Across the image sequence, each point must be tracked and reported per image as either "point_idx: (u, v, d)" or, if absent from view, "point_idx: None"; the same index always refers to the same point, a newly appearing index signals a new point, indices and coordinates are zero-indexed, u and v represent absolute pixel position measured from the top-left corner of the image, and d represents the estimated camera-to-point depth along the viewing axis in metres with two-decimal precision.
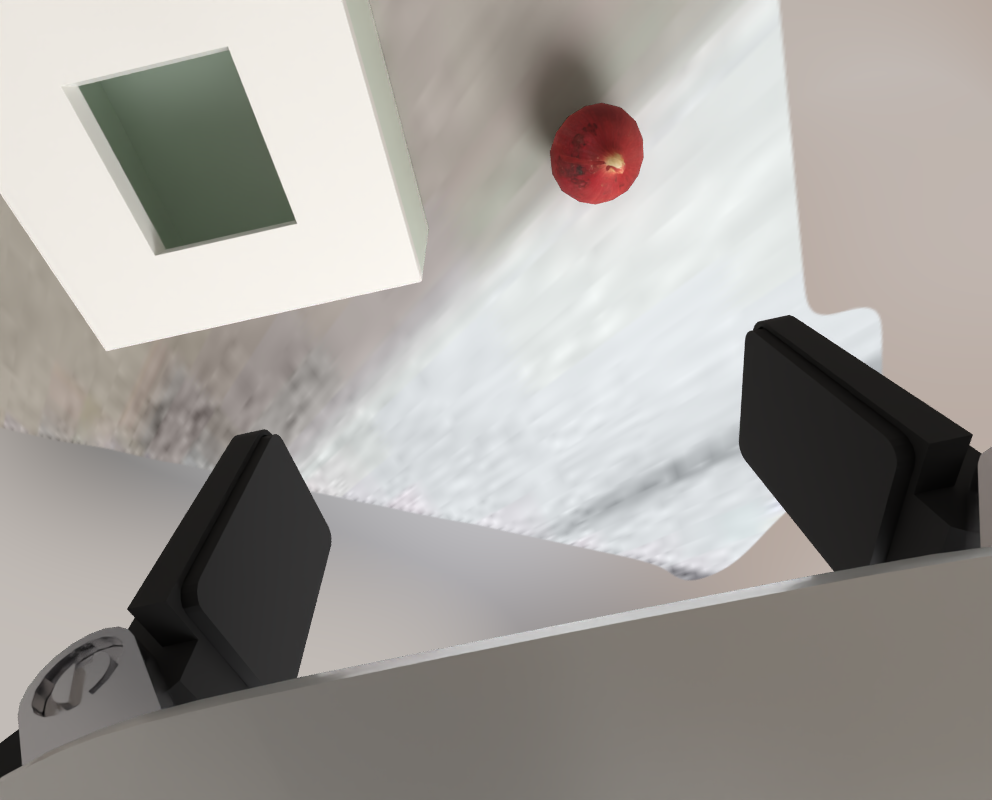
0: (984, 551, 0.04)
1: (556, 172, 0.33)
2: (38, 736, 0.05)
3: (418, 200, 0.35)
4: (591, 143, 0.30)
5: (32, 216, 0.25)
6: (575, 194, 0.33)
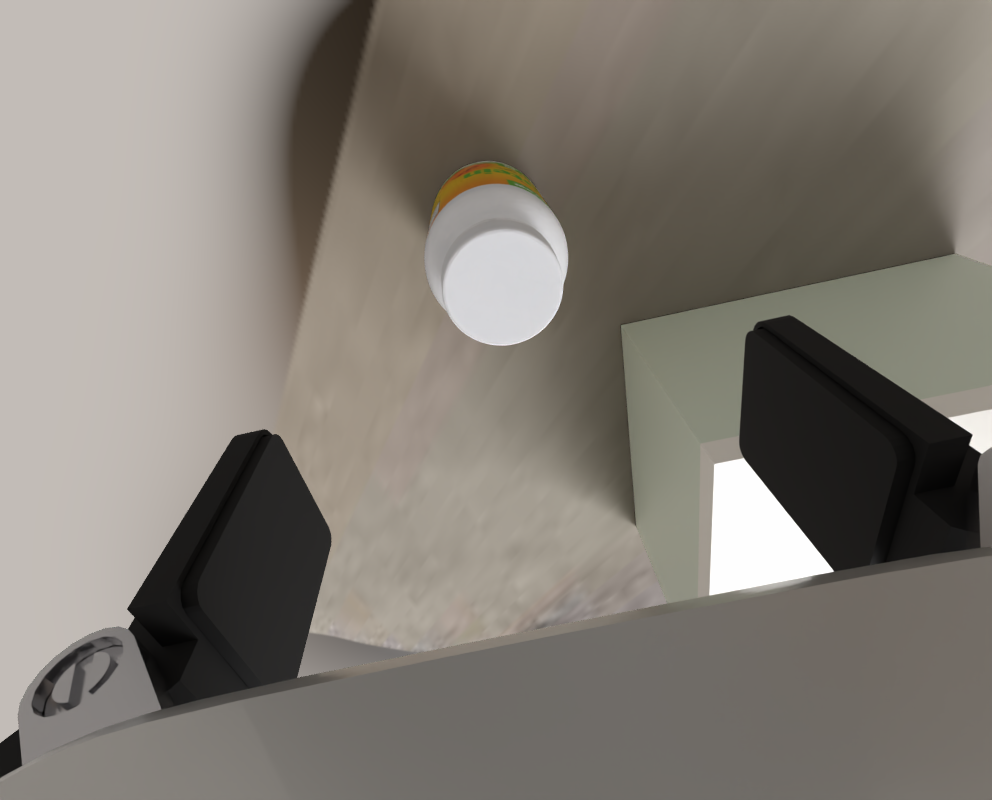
0: (984, 551, 0.04)
1: None
2: (38, 736, 0.05)
3: None
4: None
5: None
6: None
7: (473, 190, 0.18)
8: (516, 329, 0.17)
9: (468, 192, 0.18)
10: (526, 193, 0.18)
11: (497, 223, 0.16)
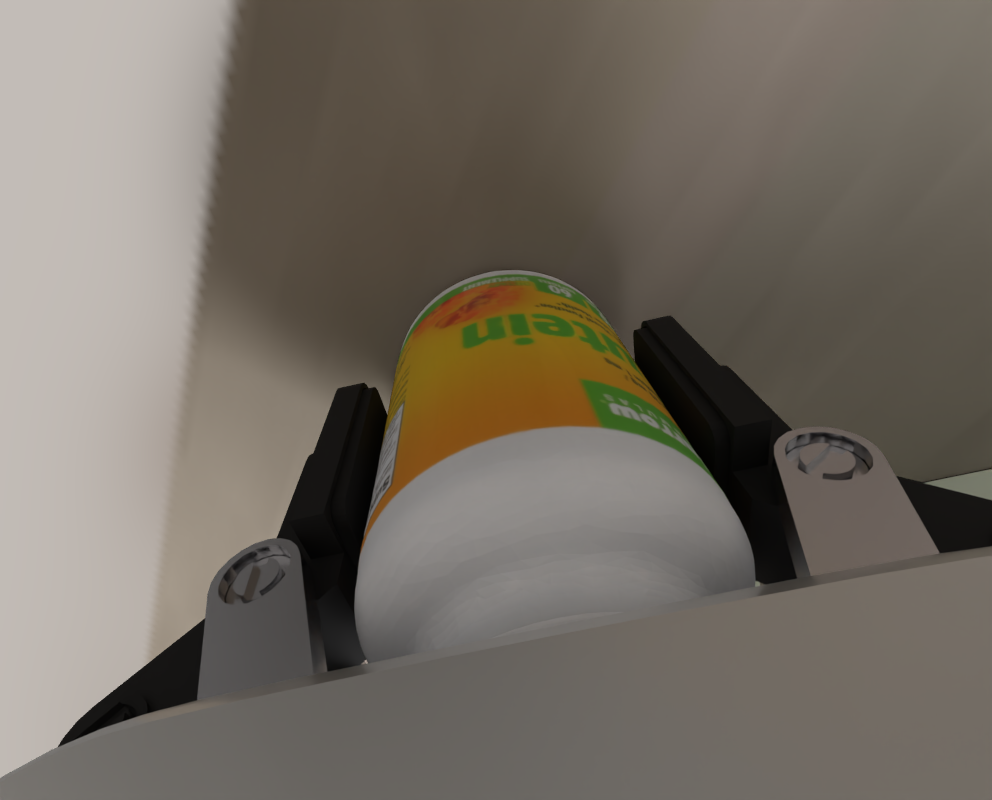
0: (984, 551, 0.04)
1: None
2: (235, 618, 0.06)
3: None
4: None
5: None
6: None
7: (495, 461, 0.06)
8: None
9: (480, 466, 0.06)
10: (659, 464, 0.06)
11: None
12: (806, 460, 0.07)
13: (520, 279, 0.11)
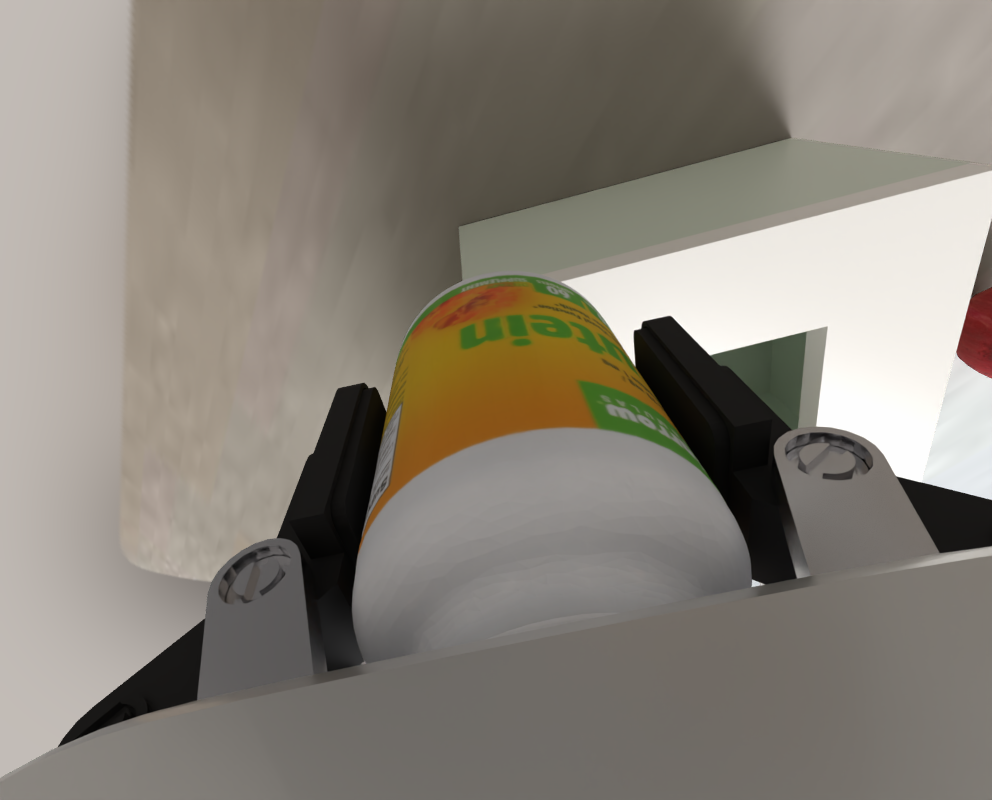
0: (984, 551, 0.04)
1: (980, 353, 0.29)
2: (235, 618, 0.06)
3: None
4: None
5: None
6: None
7: (492, 462, 0.06)
8: None
9: (476, 467, 0.06)
10: (655, 465, 0.06)
11: None
12: (806, 460, 0.07)
13: (518, 280, 0.11)
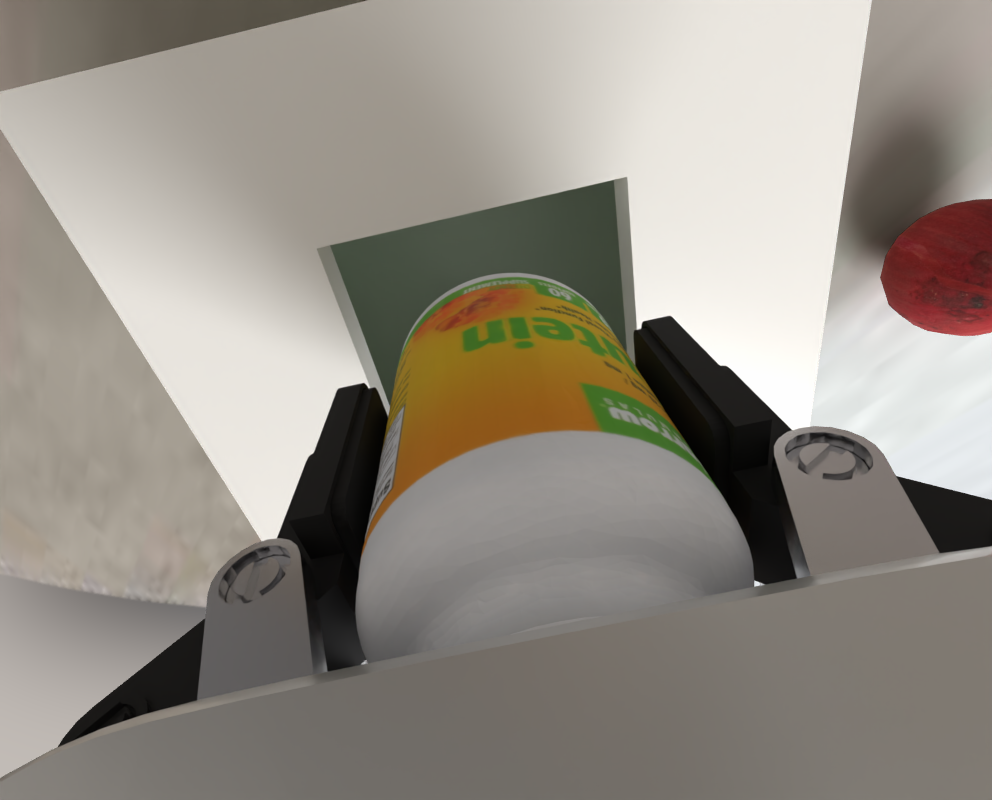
0: (984, 551, 0.04)
1: (912, 295, 0.23)
2: (235, 618, 0.06)
3: None
4: None
5: (225, 439, 0.15)
6: (937, 326, 0.23)
7: (496, 465, 0.06)
8: None
9: (480, 470, 0.06)
10: (658, 468, 0.06)
11: None
12: (806, 460, 0.07)
13: (520, 282, 0.11)
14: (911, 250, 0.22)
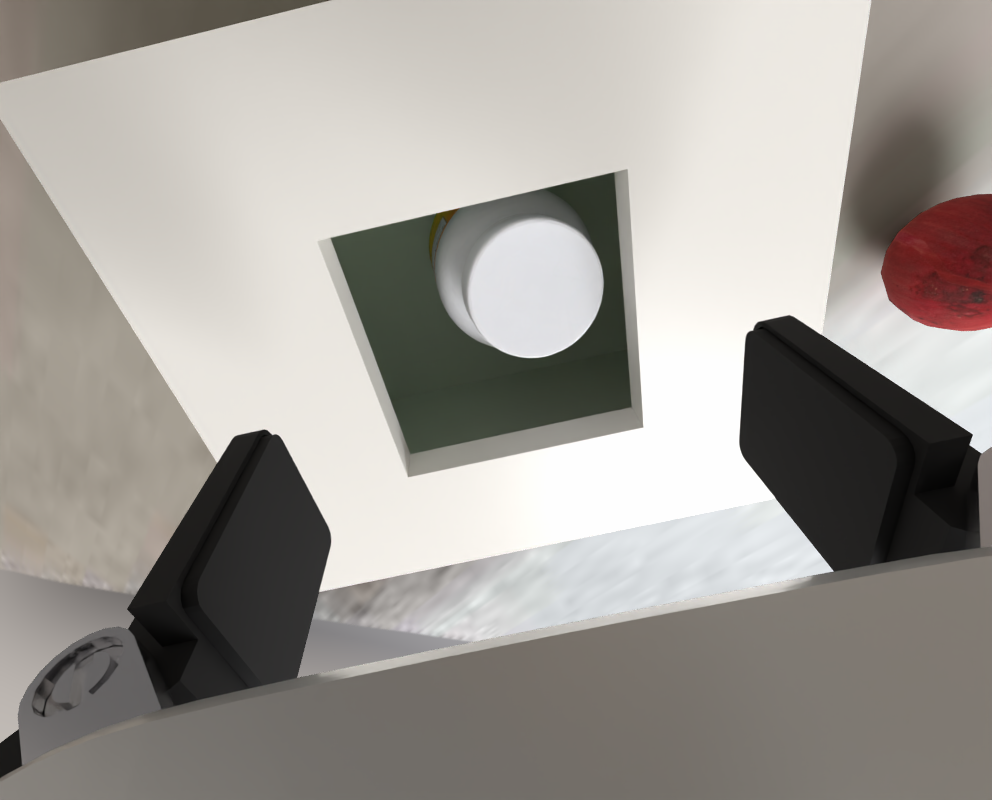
0: (984, 551, 0.04)
1: (912, 290, 0.23)
2: (38, 736, 0.05)
3: None
4: None
5: (226, 432, 0.15)
6: (938, 321, 0.23)
7: None
8: (554, 336, 0.15)
9: None
10: (545, 190, 0.16)
11: (524, 216, 0.14)
12: None
13: None
14: (911, 245, 0.22)
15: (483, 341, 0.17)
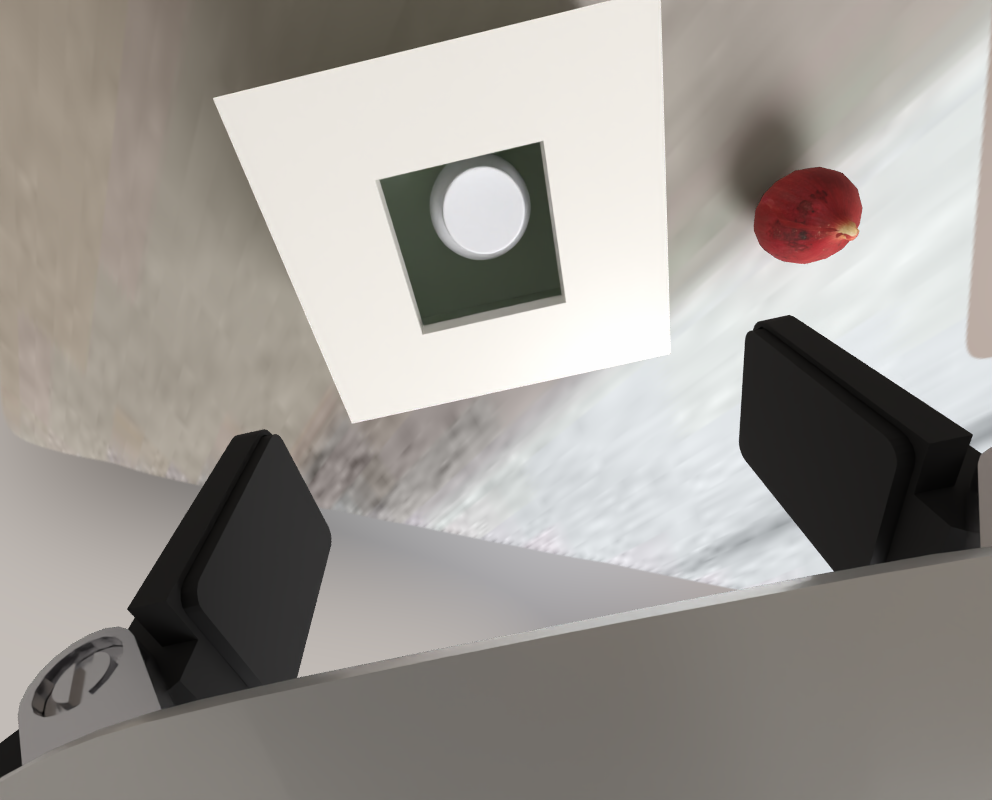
0: (984, 551, 0.04)
1: (767, 234, 0.33)
2: (38, 736, 0.05)
3: None
4: (821, 210, 0.30)
5: (315, 300, 0.25)
6: (786, 255, 0.33)
7: None
8: (497, 239, 0.25)
9: None
10: (493, 154, 0.26)
11: None
12: None
13: None
14: (766, 203, 0.33)
15: (462, 254, 0.27)
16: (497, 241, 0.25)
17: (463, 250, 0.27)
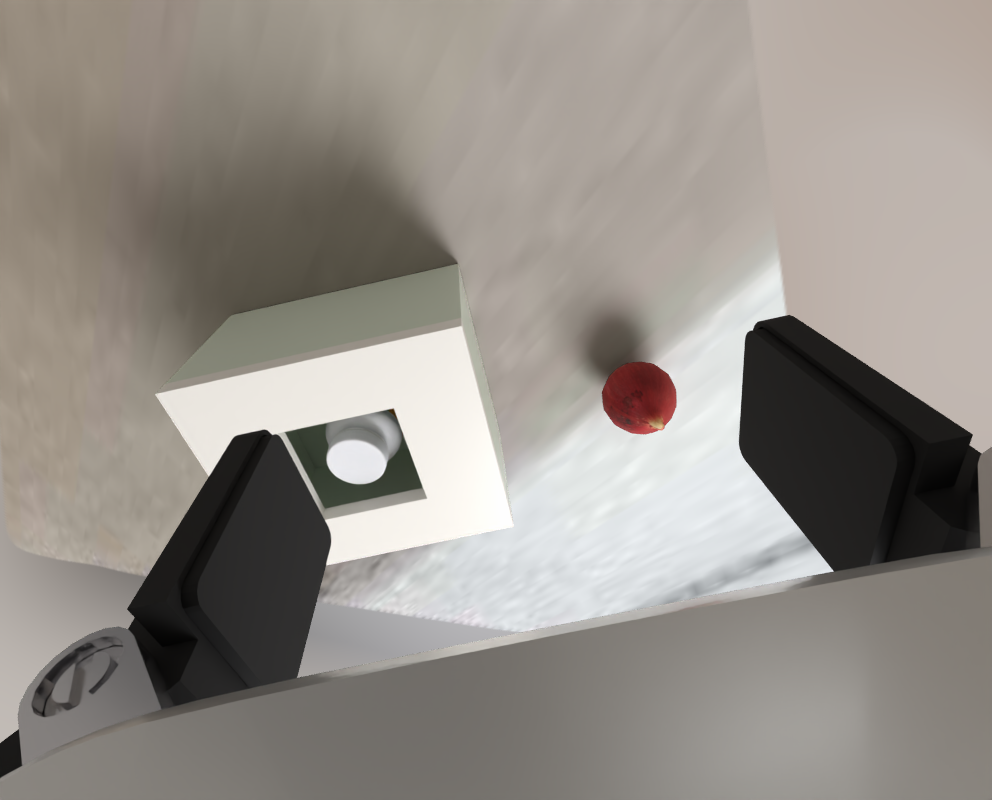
0: (984, 551, 0.04)
1: (608, 412, 0.42)
2: (38, 736, 0.05)
3: (495, 421, 0.44)
4: (638, 406, 0.39)
5: None
6: (623, 428, 0.42)
7: None
8: (370, 476, 0.35)
9: None
10: None
11: (344, 435, 0.34)
12: None
13: None
14: (606, 388, 0.42)
15: None
16: (370, 477, 0.35)
17: None
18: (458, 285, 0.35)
